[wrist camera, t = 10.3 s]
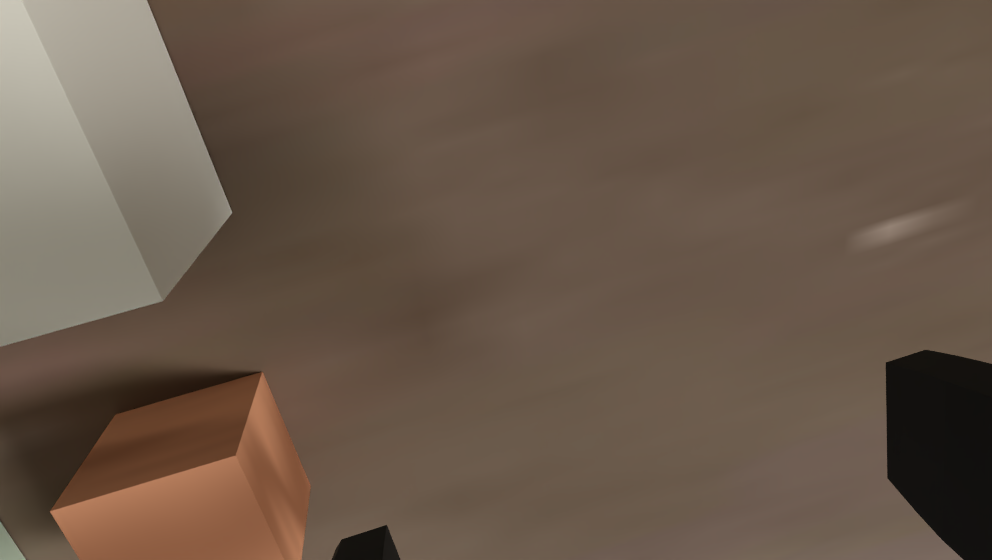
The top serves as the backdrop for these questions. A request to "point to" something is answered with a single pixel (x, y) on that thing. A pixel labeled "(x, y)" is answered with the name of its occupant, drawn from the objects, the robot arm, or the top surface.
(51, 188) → the cover
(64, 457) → the top surface
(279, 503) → the orange brown block
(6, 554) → the coaster
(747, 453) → the top surface
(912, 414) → the robot arm
